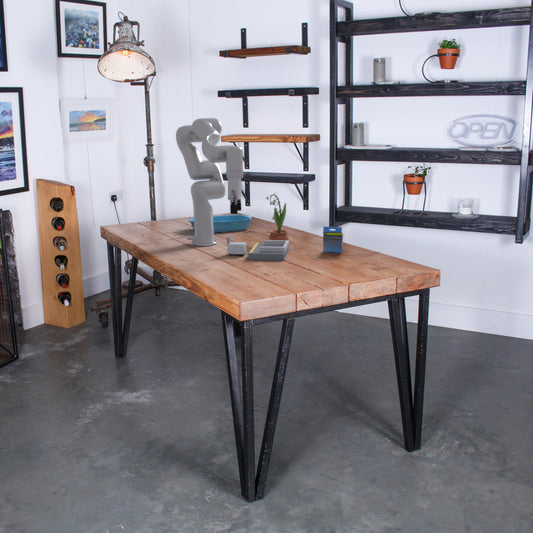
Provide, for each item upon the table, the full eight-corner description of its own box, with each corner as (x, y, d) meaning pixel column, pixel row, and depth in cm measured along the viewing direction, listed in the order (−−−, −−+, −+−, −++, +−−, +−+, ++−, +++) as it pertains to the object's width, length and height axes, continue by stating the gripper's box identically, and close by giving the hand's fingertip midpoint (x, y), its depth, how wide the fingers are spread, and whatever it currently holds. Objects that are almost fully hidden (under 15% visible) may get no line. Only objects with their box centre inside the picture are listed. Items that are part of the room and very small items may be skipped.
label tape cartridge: (343, 251, 300) (343, 225, 298) (341, 253, 297) (342, 227, 294) (324, 250, 303) (324, 225, 300) (322, 252, 299) (323, 226, 296)
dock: (248, 259, 287) (248, 249, 285) (256, 248, 310) (256, 238, 308) (283, 260, 284) (283, 249, 283) (289, 249, 307) (289, 238, 306)
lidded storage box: (227, 255, 295) (226, 237, 293) (229, 253, 300) (229, 235, 298) (244, 256, 294) (244, 237, 292) (246, 253, 299) (245, 235, 297)
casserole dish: (243, 224, 379) (243, 212, 377) (258, 230, 359) (258, 217, 357) (183, 230, 364) (183, 217, 363) (195, 236, 345) (195, 223, 343)
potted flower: (261, 243, 322) (260, 193, 316) (271, 239, 331) (270, 191, 325) (283, 245, 317) (282, 194, 311) (291, 241, 326) (291, 192, 320)
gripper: (230, 172, 297) (231, 209, 301) (222, 176, 281) (224, 215, 285) (246, 172, 296) (247, 209, 300) (239, 176, 280) (240, 215, 284)
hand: (236, 212), depth 292 cm, fingers open, 9 cm apart
